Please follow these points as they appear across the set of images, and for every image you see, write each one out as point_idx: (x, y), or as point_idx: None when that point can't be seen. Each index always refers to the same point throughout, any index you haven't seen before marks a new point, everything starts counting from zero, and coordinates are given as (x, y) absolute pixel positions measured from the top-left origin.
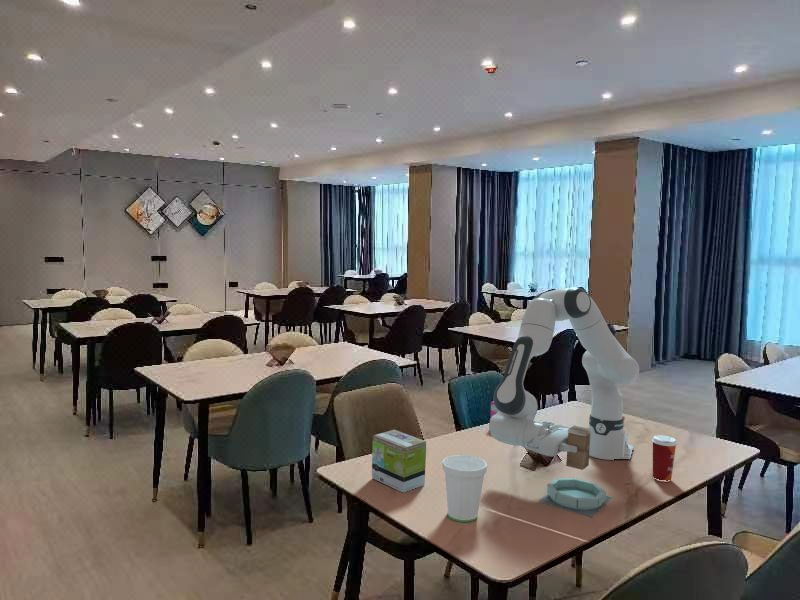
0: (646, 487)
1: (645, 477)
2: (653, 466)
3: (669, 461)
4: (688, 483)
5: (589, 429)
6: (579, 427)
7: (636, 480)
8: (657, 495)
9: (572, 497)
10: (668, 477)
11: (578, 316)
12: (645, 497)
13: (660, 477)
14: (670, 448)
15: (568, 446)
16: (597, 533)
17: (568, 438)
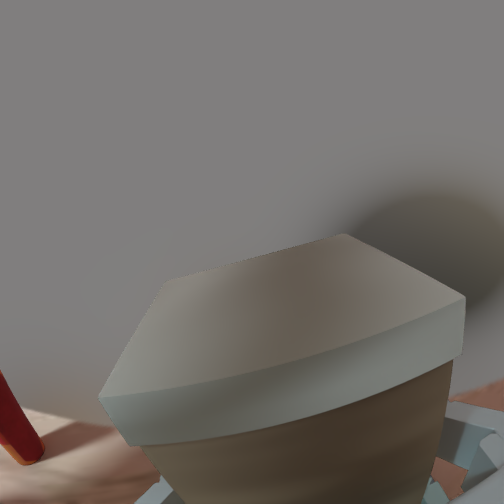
0: (81, 469)
1: (26, 476)
2: (13, 442)
3: (17, 402)
4: (41, 420)
5: (195, 274)
6: (179, 325)
7: (47, 490)
8: (119, 445)
9: (438, 498)
10: (37, 434)
11: None
12: (145, 459)
13: (37, 445)
14: (1, 373)
15: (471, 413)
16: (462, 396)
17: (438, 419)
